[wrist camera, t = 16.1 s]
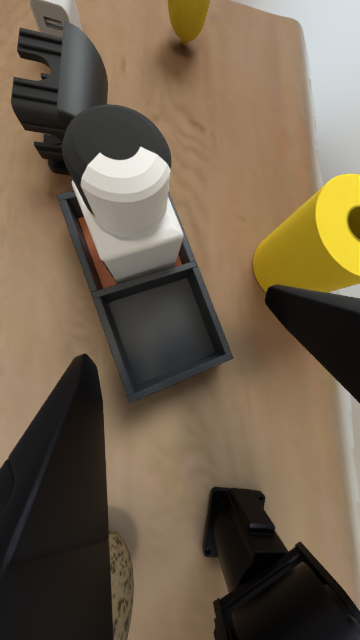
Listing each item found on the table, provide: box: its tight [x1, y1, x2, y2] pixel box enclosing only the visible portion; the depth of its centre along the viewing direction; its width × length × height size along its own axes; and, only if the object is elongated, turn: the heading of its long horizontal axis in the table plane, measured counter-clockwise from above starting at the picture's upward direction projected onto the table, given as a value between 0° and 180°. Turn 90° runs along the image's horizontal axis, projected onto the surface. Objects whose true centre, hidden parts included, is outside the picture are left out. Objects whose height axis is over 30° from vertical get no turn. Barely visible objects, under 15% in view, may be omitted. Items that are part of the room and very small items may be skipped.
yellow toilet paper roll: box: [253, 174, 360, 293], centre depth 20 cm, size 10×10×9 cm
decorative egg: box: [108, 529, 134, 640], centre depth 13 cm, size 7×7×10 cm
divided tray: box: [57, 191, 233, 403], centre depth 20 cm, size 22×11×4 cm, turn 21°
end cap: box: [11, 21, 108, 174], centre depth 19 cm, size 10×7×7 cm
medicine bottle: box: [62, 105, 183, 284], centre depth 15 cm, size 7×7×12 cm
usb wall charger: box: [30, 0, 82, 38], centre depth 22 cm, size 4×7×4 cm, turn 178°
